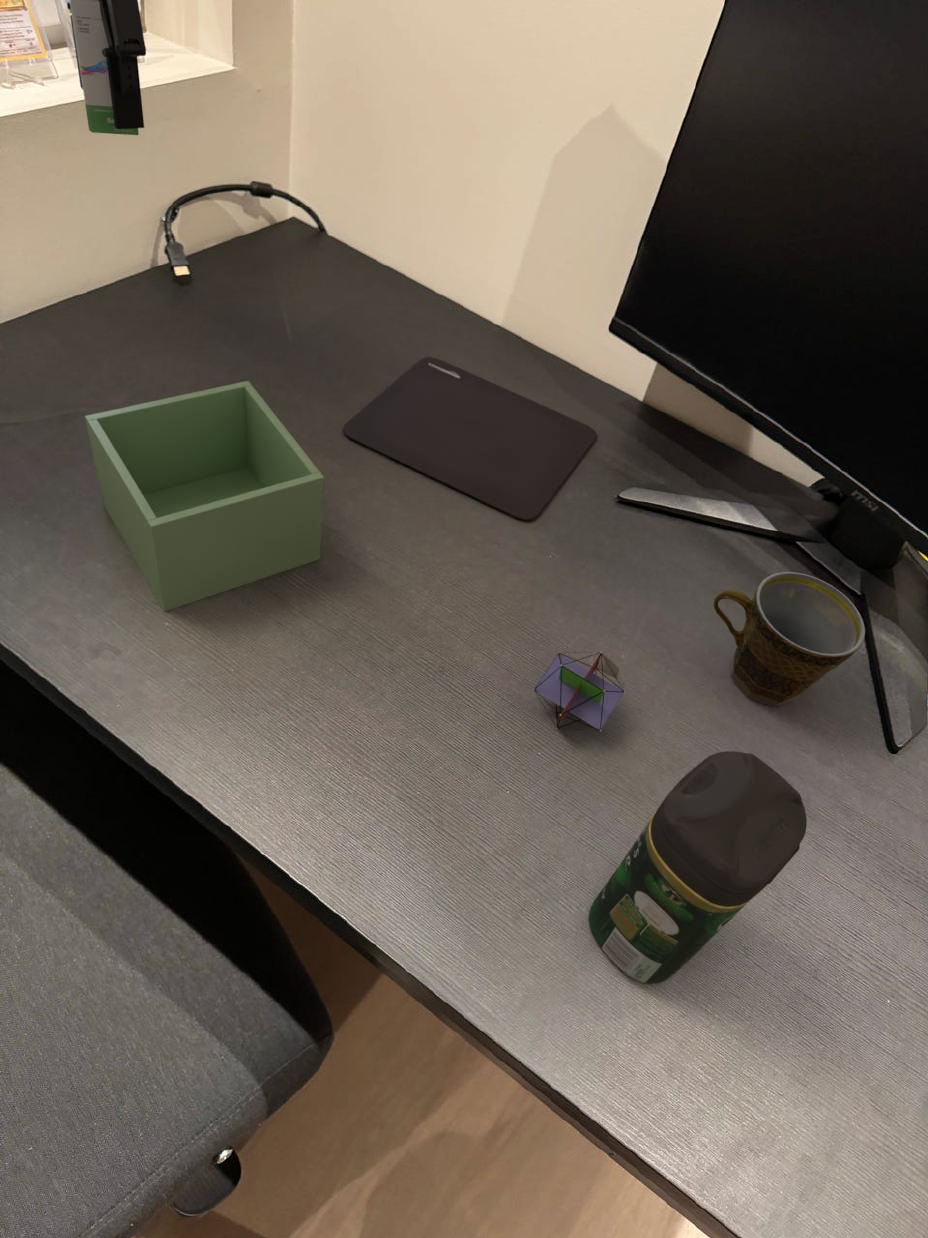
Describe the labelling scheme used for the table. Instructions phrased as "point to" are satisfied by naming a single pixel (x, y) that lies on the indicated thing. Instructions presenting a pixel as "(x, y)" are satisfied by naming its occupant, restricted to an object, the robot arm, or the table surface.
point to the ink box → (94, 67)
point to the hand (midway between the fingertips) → (111, 106)
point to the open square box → (207, 491)
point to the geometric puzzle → (581, 689)
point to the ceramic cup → (791, 635)
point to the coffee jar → (697, 864)
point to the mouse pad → (473, 436)
